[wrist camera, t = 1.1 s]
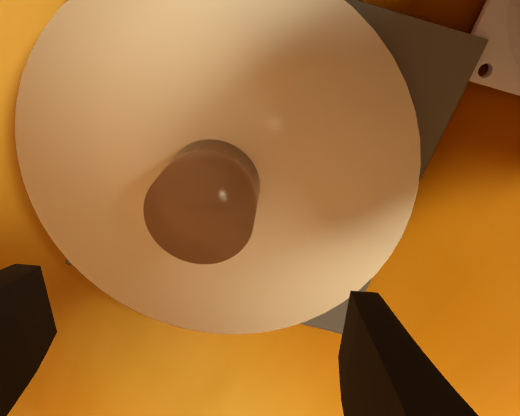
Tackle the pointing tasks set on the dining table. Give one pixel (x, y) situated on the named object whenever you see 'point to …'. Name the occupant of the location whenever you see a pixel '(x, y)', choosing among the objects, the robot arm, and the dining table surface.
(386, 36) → the mat
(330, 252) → the lid
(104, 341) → the dining table surface
